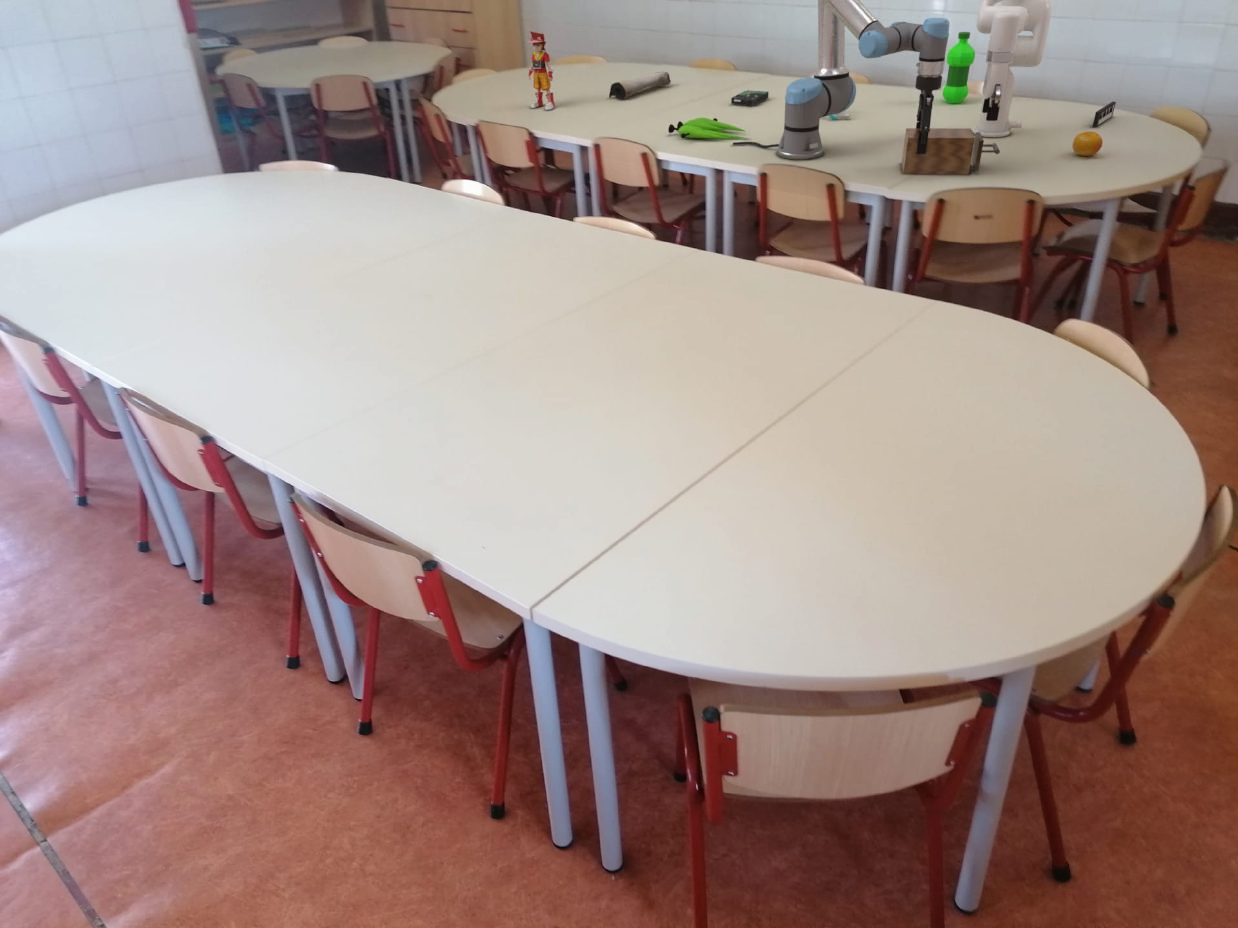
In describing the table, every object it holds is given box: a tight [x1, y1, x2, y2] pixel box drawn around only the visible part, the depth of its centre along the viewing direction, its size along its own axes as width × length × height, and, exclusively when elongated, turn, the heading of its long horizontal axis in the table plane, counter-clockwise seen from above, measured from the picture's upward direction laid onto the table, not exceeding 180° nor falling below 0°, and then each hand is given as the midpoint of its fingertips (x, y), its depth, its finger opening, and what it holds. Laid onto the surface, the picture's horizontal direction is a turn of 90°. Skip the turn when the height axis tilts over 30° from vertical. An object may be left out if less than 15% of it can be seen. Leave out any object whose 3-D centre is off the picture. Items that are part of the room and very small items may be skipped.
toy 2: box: [667, 117, 749, 140], centre depth 332 cm, size 28×5×30 cm
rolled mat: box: [608, 71, 672, 101], centre depth 395 cm, size 30×9×10 cm
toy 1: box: [527, 31, 556, 111], centre depth 374 cm, size 12×9×30 cm
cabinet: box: [901, 127, 975, 175], centre depth 285 cm, size 20×11×11 cm, turn 78°
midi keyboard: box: [1092, 101, 1117, 128], centre depth 320 cm, size 18×1×5 cm, turn 138°
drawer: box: [970, 132, 1001, 172], centre depth 283 cm, size 24×10×9 cm, turn 78°
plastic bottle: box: [942, 31, 976, 104], centre depth 348 cm, size 10×10×25 cm
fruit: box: [1072, 131, 1103, 157], centre depth 289 cm, size 8×8×8 cm
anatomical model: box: [828, 111, 851, 121], centre depth 345 cm, size 15×10×10 cm
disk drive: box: [730, 89, 770, 107], centre depth 372 cm, size 10×3×15 cm
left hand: (919, 148), depth 285 cm, fingers closed on cabinet, 11 cm apart
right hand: (989, 116), depth 277 cm, fingers open, 9 cm apart
